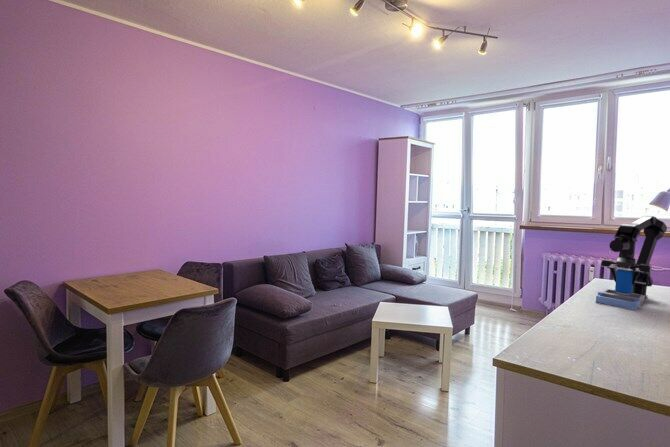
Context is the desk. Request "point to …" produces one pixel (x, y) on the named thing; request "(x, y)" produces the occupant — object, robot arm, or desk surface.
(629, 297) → the slot holder
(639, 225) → the robot arm
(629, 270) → the beverage can
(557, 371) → the desk surface
